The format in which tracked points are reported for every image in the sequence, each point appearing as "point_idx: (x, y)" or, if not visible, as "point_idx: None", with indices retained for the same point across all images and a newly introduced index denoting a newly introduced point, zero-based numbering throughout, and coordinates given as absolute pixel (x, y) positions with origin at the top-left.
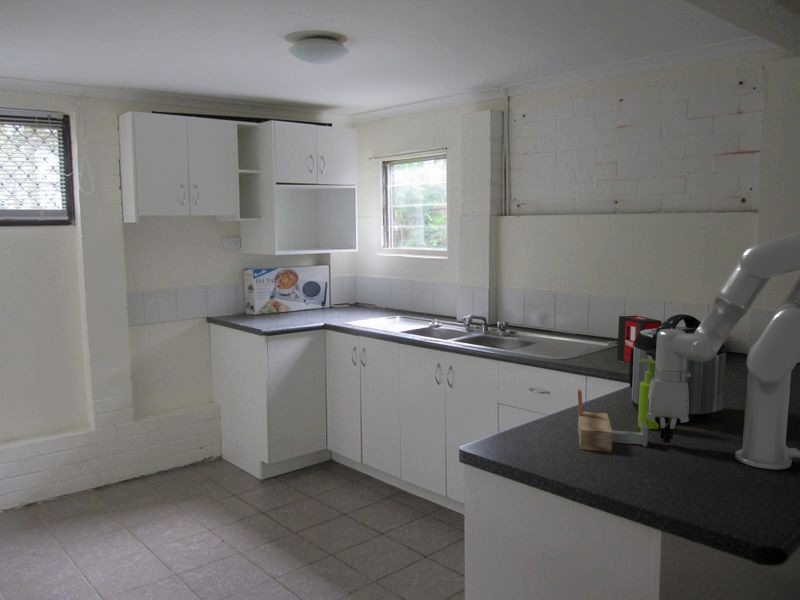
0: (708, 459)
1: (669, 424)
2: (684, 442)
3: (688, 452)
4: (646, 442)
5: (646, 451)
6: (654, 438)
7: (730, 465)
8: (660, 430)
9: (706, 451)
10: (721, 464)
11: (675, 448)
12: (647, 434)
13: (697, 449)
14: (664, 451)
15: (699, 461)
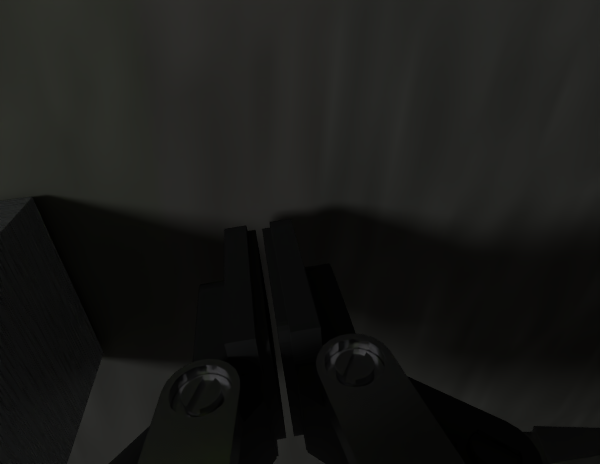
0: (514, 395)
1: (326, 445)
2: (463, 73)
3: (424, 332)
4: (86, 380)
5: (121, 424)
6: (124, 37)
7: (595, 426)
8: (197, 341)
9: (569, 262)
10: None
11: (341, 286)
12: (67, 455)
13: (517, 243)
14: None
15: None
